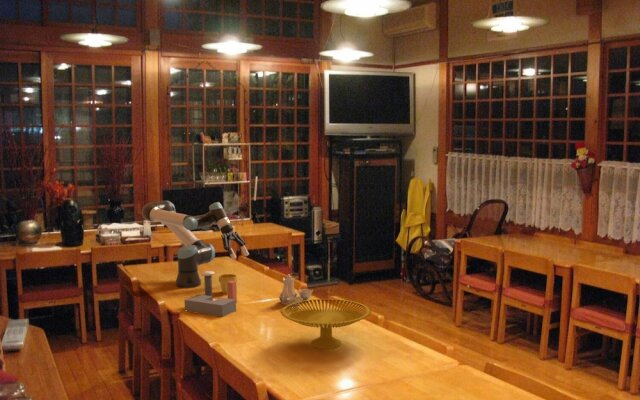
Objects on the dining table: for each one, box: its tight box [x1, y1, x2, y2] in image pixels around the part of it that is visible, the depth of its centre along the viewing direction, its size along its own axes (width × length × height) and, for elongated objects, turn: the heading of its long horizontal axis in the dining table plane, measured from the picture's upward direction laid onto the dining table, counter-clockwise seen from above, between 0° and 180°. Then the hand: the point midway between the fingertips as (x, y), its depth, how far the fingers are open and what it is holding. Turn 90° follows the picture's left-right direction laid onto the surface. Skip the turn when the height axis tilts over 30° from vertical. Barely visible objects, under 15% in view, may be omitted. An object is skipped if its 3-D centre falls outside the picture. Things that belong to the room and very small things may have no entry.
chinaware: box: [278, 273, 314, 310], centre depth 355 cm, size 28×17×17 cm, turn 168°
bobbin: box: [201, 270, 217, 301], centre depth 356 cm, size 10×10×17 cm
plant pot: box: [218, 273, 238, 295], centre depth 379 cm, size 10×10×10 cm
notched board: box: [184, 294, 237, 318], centre depth 341 cm, size 24×12×6 cm, turn 63°
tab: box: [227, 281, 238, 304], centre depth 355 cm, size 4×4×12 cm
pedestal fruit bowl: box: [280, 298, 372, 350], centre depth 289 cm, size 40×40×15 cm
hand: (240, 257), depth 392 cm, fingers open, 13 cm apart
